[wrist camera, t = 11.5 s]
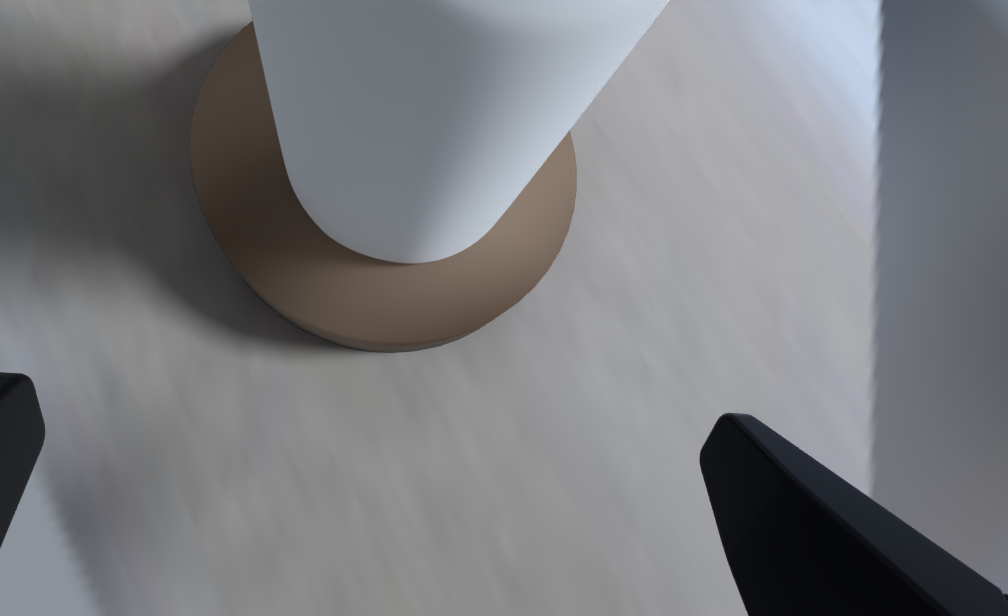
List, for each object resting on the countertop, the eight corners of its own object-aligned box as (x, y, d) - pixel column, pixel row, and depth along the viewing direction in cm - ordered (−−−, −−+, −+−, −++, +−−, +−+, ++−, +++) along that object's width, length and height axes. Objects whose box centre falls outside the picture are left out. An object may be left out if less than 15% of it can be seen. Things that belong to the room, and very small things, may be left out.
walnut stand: (608, 227, 21) (642, 203, 19) (359, 425, 18) (361, 426, 15) (420, -15, 21) (431, -70, 19) (130, 136, 17) (97, 91, 15)
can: (240, 204, 15) (-41, -409, 4) (347, 20, 17) (361, -759, 6) (461, 306, 16) (728, 50, 5) (540, 123, 18) (867, -365, 7)
